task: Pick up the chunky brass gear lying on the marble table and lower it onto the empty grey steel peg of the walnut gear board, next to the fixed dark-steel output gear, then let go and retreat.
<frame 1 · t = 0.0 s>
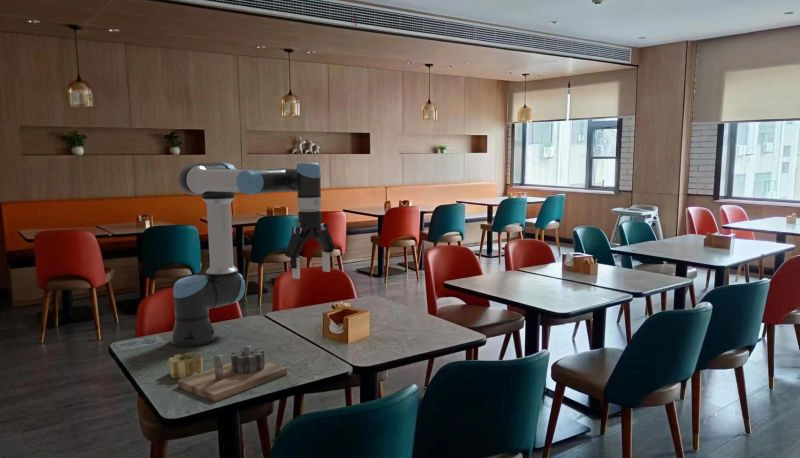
hand: (311, 274, 198), 28 cm above the table, fingers open, 13 cm apart
brass gear: (186, 373, 187), on the table
gear board: (233, 380, 181), on the table
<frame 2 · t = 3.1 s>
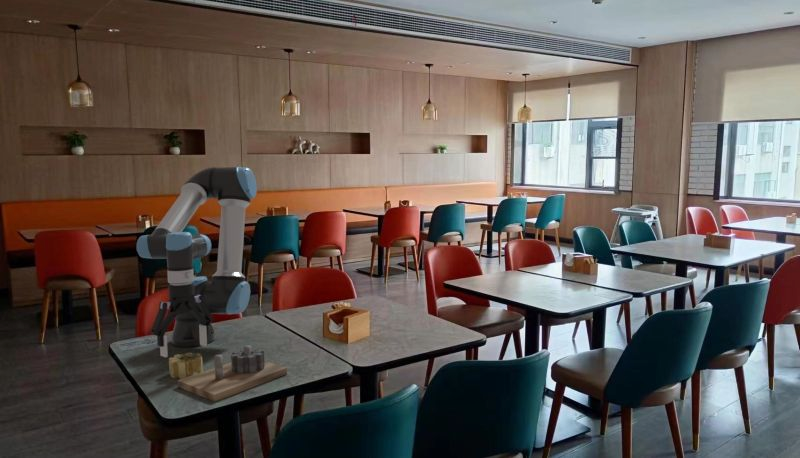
hand: (184, 350, 186), 7 cm above the table, fingers open, 13 cm apart
nothing on the table moved.
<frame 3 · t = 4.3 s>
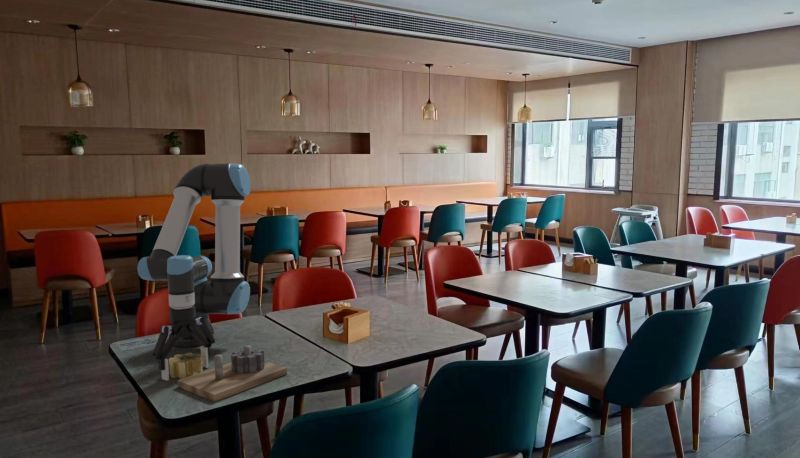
hand: (185, 373, 187), 0 cm above the table, fingers open, 13 cm apart
nothing on the table moved.
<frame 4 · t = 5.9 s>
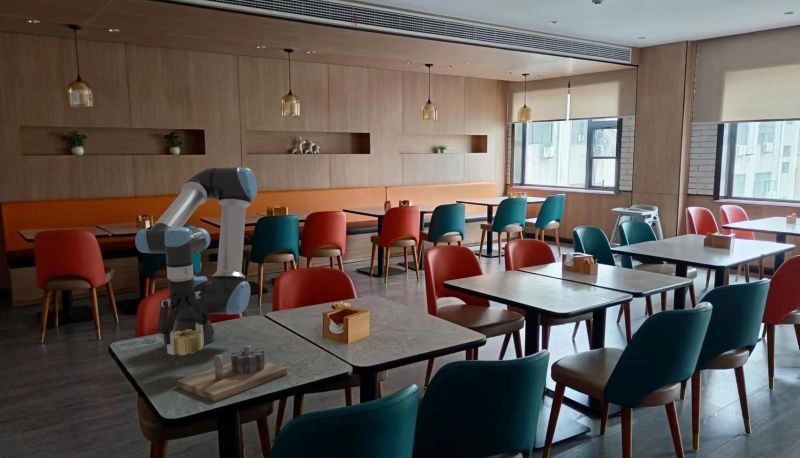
hand: (186, 348, 187), 8 cm above the table, fingers closed on brass gear, 10 cm apart
brass gear: (186, 349, 187), point 7 cm above the table, touching gripper
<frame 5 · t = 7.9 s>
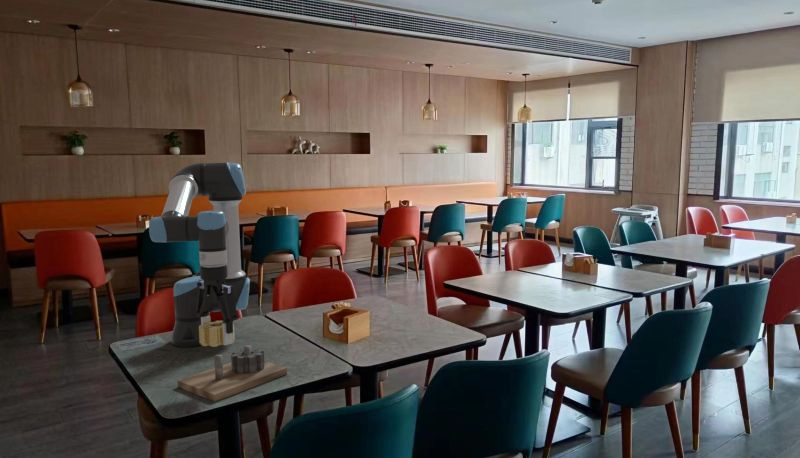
hand: (217, 340, 175), 14 cm above the table, fingers closed on brass gear, 10 cm apart
brass gear: (217, 341, 175), point 13 cm above the table, touching gripper
when the fingers open (4 cm above the table, at t = 10.4 s): brass gear drops 1 cm, resting on gear board.
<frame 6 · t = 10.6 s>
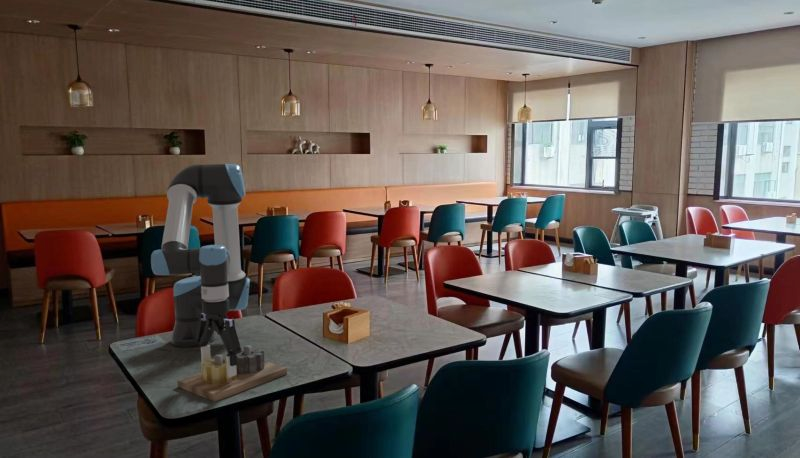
hand: (219, 371, 176), 4 cm above the table, fingers open, 11 cm apart
brass gear: (219, 378, 177), point 2 cm above the table, touching gear board
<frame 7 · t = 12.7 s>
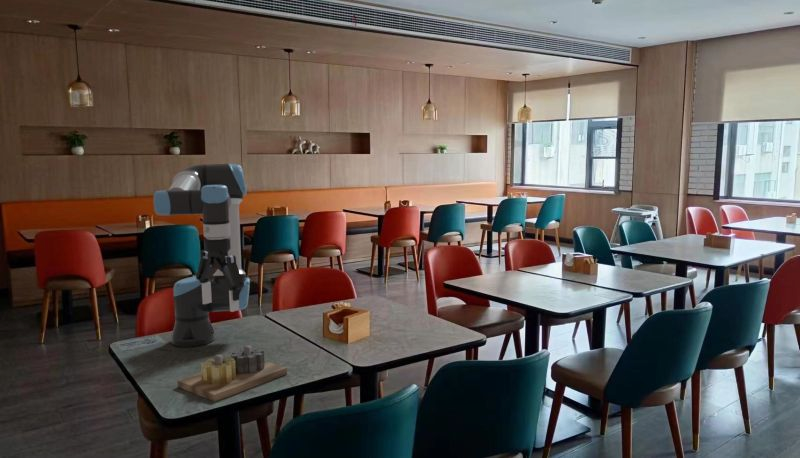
hand: (220, 307, 181), 22 cm above the table, fingers open, 13 cm apart
nothing on the table moved.
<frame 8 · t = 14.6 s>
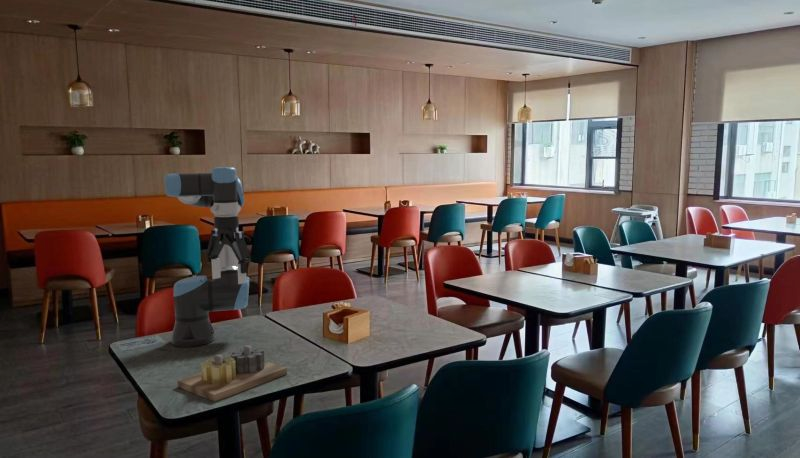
hand: (229, 280, 195), 27 cm above the table, fingers open, 13 cm apart
nothing on the table moved.
at the end: brass gear 0.0 cm from the target spot on the gear board, point 2.0 cm above the gear board's base; brass gear tilted 0°; the gripper is holding nothing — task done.
